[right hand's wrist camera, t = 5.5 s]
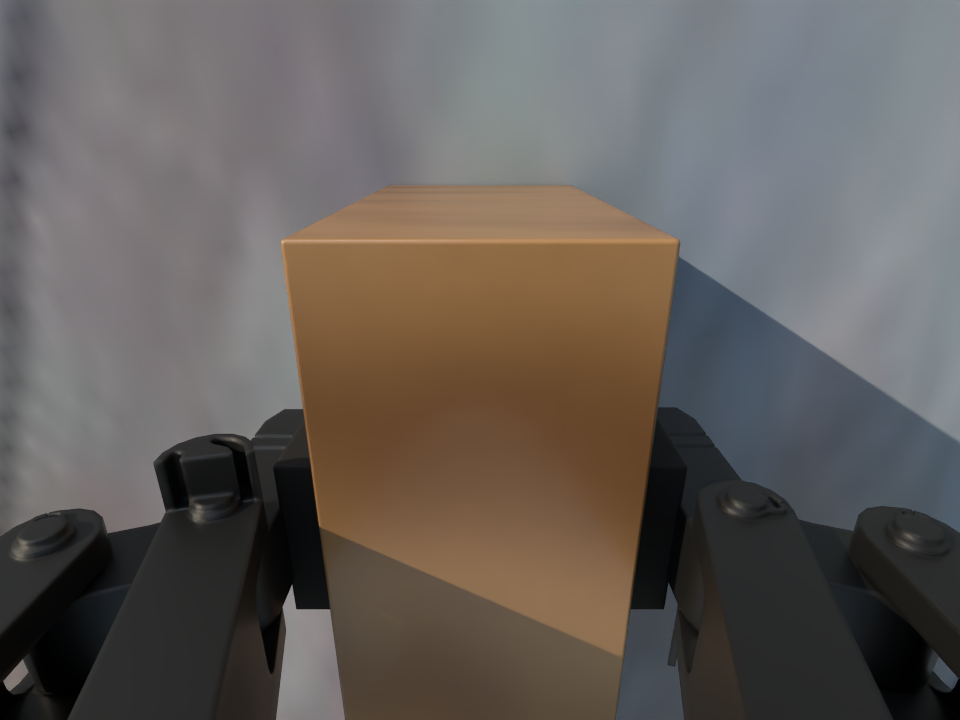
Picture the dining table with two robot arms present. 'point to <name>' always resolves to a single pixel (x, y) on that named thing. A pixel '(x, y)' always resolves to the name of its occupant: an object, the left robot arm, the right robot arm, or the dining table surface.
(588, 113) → the dining table surface
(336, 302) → the post
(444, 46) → the dining table surface
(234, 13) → the dining table surface
